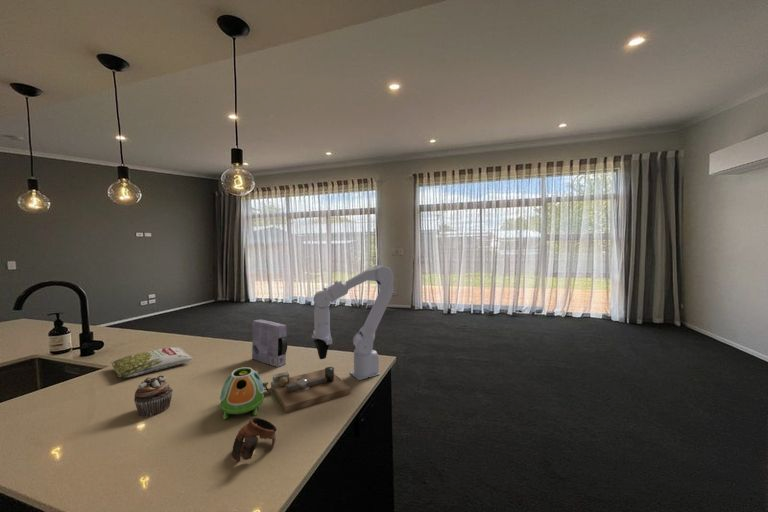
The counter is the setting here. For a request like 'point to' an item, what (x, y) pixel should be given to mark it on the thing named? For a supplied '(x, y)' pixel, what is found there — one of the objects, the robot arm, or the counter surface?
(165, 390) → the cupcake
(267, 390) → the wooden post with brackets
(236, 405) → the turtle holder
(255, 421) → the brown curved open piece
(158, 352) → the frozen beans
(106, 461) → the counter surface
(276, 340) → the cake pan box
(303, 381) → the lever
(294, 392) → the board
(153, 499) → the counter surface
